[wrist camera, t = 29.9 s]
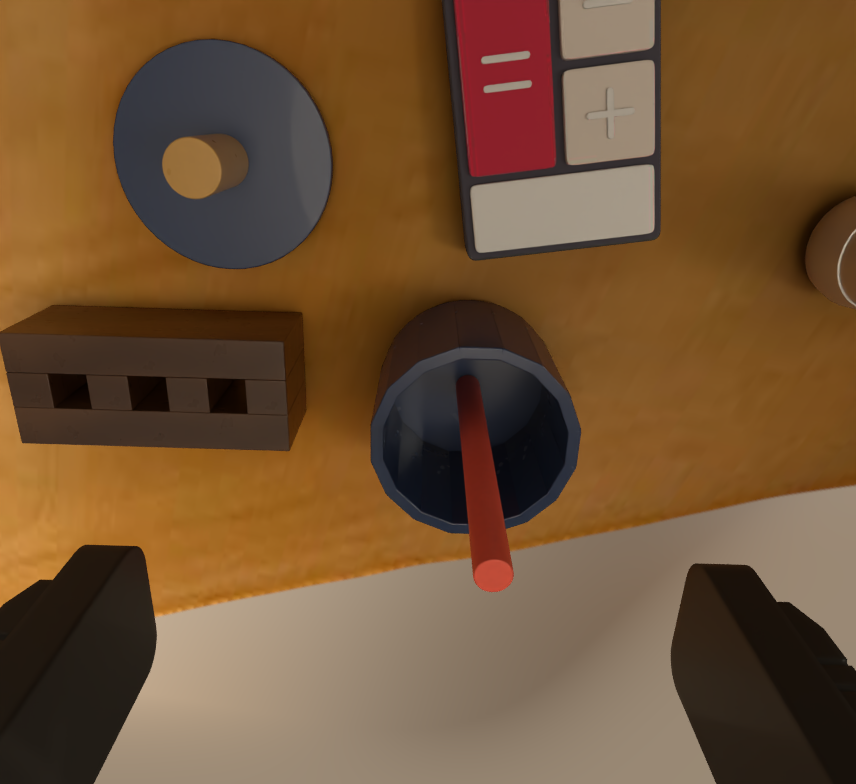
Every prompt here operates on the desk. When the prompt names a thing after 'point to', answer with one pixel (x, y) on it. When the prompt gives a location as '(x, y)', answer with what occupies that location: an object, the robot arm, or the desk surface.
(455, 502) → the tin
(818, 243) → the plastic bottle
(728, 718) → the robot arm
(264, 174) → the tin lid
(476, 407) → the straw
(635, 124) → the calculator
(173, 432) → the straw holder
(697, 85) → the desk surface
